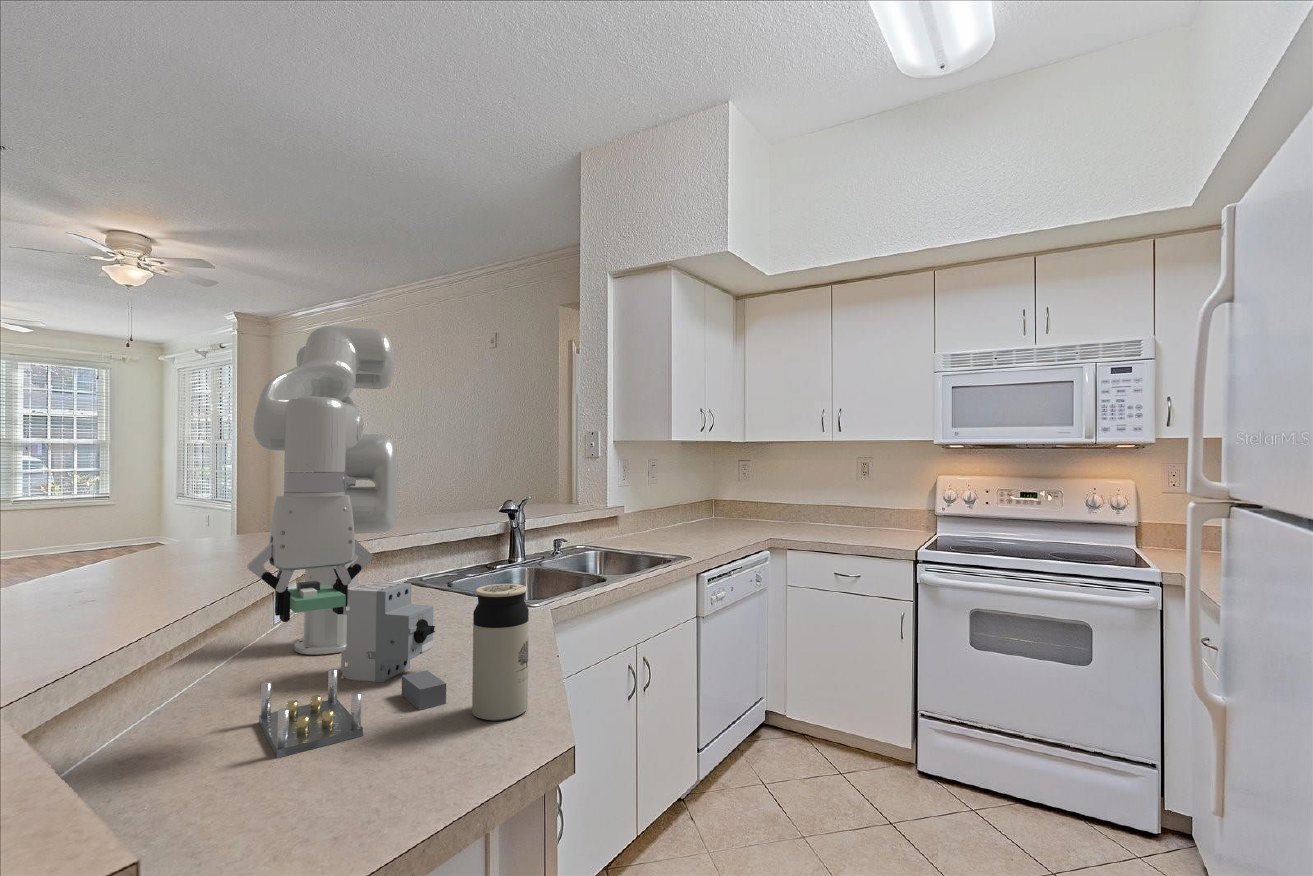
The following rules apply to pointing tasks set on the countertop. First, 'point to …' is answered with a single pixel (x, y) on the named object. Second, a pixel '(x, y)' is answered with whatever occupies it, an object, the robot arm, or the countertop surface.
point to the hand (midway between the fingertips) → (311, 615)
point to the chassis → (309, 721)
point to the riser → (423, 689)
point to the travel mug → (500, 652)
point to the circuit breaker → (384, 631)
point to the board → (315, 597)
